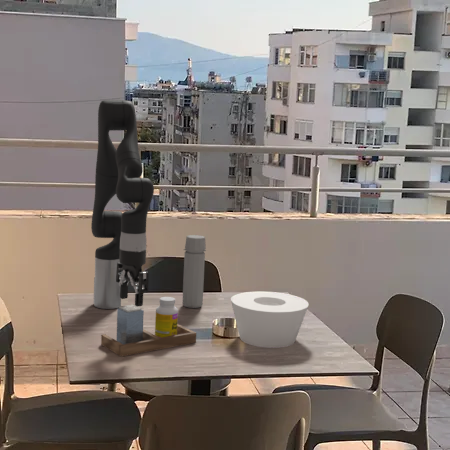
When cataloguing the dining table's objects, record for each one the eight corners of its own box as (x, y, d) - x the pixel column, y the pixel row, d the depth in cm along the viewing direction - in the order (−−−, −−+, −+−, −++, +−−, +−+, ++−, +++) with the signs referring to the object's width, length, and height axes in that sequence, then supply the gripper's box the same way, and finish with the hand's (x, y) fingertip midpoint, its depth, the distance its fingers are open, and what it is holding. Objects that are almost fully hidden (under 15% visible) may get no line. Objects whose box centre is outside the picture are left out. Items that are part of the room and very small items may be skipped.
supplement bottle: (173, 344, 215) (175, 302, 213) (151, 342, 216) (153, 300, 214) (179, 337, 222) (181, 297, 220) (158, 335, 223) (159, 294, 221)
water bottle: (203, 309, 254) (206, 239, 250) (180, 308, 254) (183, 238, 250) (204, 302, 263) (207, 234, 259) (182, 301, 263) (185, 233, 259)
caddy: (101, 344, 212) (101, 334, 211) (174, 331, 227) (174, 322, 227) (121, 356, 203) (121, 346, 202) (196, 342, 218) (196, 332, 218)
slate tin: (116, 344, 213) (117, 306, 211) (132, 341, 216) (133, 303, 214) (126, 350, 208) (127, 311, 206) (142, 346, 212) (143, 308, 210)
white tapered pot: (217, 343, 218) (219, 305, 216) (243, 323, 240) (245, 287, 239) (295, 356, 210) (297, 316, 208) (314, 334, 233) (316, 297, 231)
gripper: (109, 243, 210) (107, 297, 213) (134, 253, 199) (132, 310, 202) (131, 241, 215) (130, 294, 218) (157, 251, 204) (155, 306, 207)
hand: (131, 302), depth 210 cm, fingers open, 8 cm apart
